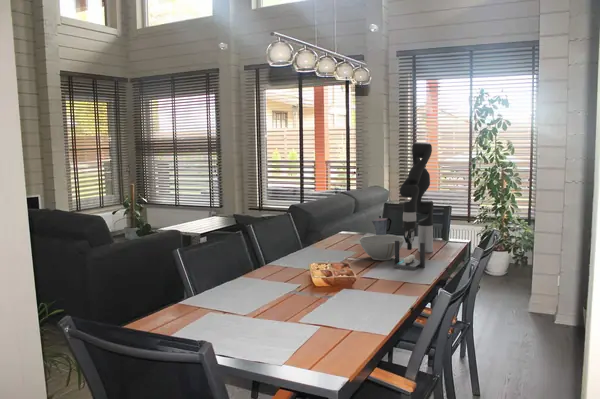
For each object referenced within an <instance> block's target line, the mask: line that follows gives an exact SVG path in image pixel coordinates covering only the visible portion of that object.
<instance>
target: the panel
mask: <svg viewBox="0 0 600 399" xmlns="http://www.w3.org/2000/svg"><path fill="white" fill-rule="evenodd" d="M400 268H401V270H402V269H403V270H408V271H409V270H410V271H416V270H418V269H420V259H415V260H413V261H410V263H405V262H404V258H403V259H401V260H399V262H398V263H396V264H395V263H394V269H400Z"/></svg>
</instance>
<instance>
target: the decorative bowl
mask: <svg viewBox="0 0 600 399" xmlns="http://www.w3.org/2000/svg"><path fill="white" fill-rule="evenodd" d="M395 241H399V251H400V250H401V249H402V247H403V244H404V241H405V239H404V237H402V236H399V235H398V236H397V235H390V234H389V235H388V234H387V235H376V234H375V235H374V234H373V235H366V236H362V237H360V238H359V242H360V246H361V248H362V249H363V250H364V252H365V253H366V254H367V255H368V256H370V257H371V259H372V260H375V261H390V260H391V259H392V258H393V257H395Z"/></svg>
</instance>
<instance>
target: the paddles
mask: <svg viewBox="0 0 600 399" xmlns="http://www.w3.org/2000/svg"><path fill="white" fill-rule="evenodd" d="M403 259H404V262H405V263H410V261H413V260H416V256H415V254H408V255H406V257H403Z"/></svg>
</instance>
